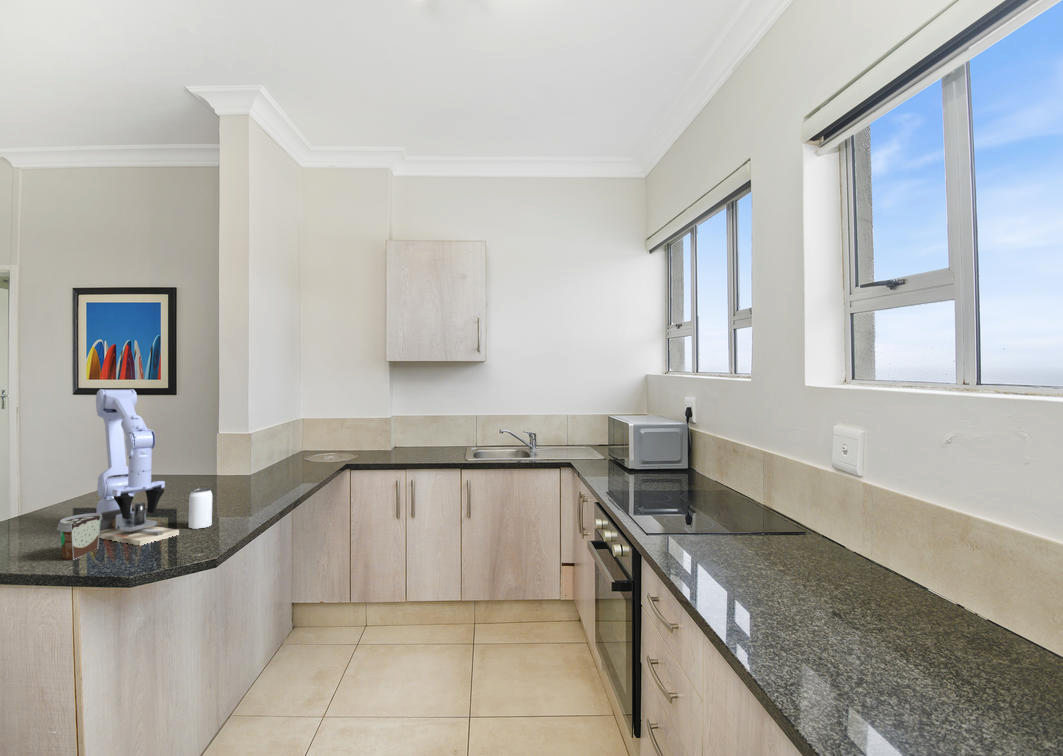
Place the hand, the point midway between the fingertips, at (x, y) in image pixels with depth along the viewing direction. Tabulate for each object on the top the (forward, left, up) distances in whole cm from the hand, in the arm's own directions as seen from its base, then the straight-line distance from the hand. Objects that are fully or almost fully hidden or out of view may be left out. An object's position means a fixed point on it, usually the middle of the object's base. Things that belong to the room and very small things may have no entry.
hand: (139, 515), depth 167 cm
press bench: (-2, 0, -6) cm, 7 cm away
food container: (+1, -18, -7) cm, 19 cm away
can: (+7, +15, -7) cm, 18 cm away
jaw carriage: (-1, 0, -4) cm, 4 cm away
